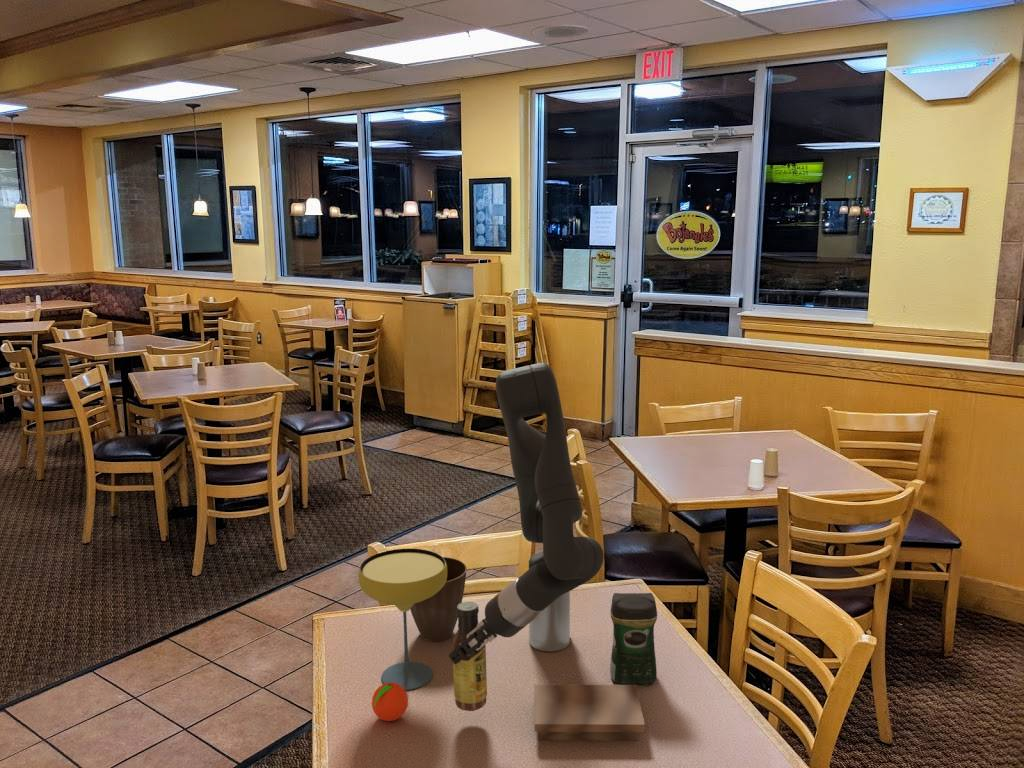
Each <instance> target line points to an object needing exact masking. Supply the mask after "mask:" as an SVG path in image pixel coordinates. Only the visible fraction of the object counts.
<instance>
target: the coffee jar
mask: <svg viewBox="0 0 1024 768" xmlns="http://www.w3.org/2000/svg"><path fill="white" fill-rule="evenodd" d="M657 608H658V607H657V603H656V599H655V596H654V595H653V593H652V592H648V593H646V592H645V593H644V592H640V593H638V592H634V593H633V592H630V593H628V592H625V593H623V592H621V593H619V592H614V593H613V595H612V599H611V605H610V611H609V612H610V618H611V622H612V624H613V625H612V626H613V633H612V646H611V655H610V656H611V657H610V664H609V665H610V667H609V668H610V670H609V673H610V678H611V679H612V681H614V683H615V684H616V685H636V687H637V686H638V687H640V686H641V687H642V686H650V685H653V684H654V683H655V682H656V681H657V677H658V675H657V662H656V661H657V660H656V650H655V637H654V636H655V633H654V631H655V629H654V627H655V624H656V622H657V620H658V611H657V610H658V609H657Z"/></svg>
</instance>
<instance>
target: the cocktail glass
mask: <svg viewBox="0 0 1024 768" xmlns="http://www.w3.org/2000/svg"><path fill="white" fill-rule="evenodd" d="M443 557H444V556H442V555H440V554H438V553H436V552H434V551H431V550H428V549H427V550H426V549H422V548H398V549H391V550H385V551H381V552H379V553H376V554H373V555H370V556H369V557H367V558H366V559H364V561H363V562H361V564H360V566H359V569H358V583H359V587H360V590H362V592H363V593H364V594H365V595H366V596H368V597H370V598H371V599H372V600H374V601H377V602H380V603H383V604H387V605H391V606H392V605H393V606H395V607H396V608H397V609H398V611H400V612H401V613H402V612H403V613H402V615H403V616H402V618H403V639H404V641H403V643H404V644H403V646H404V647H403V648H404V649H403V650H404V658H403V659H404V661H402V662H398V663H395V664H392V665H390V666H389V667H387V668H386V669H384V671H382V674H381V676H380V679H381V682H382V685H383V684H385V683H396V684H399V685H400V686H402V687H403V688H404V689H405V691H412V690H416V689H419V688H422V687H424V686H426V685H427V684H428V683H429V682H431V681H432V678H433V674H434V672H433V670H432V668H431V667H430V666H429V665H427V664H426V663H422V662H418V661H410V659H409V647H408V627H407V626H408V625H407V624H408V623H407V620H408V619H407V612H408V611H411V610H410V608H411V607H412V606H413V604H415V603H418V602H421V601H423V600H426V599H428V598H430V597H432V596H433V595H435V594H436V593H437V592H438V591H439V590H441V588H442V587H443V586H444V585H445V582H446V580H447V564H446V561H445V560H444V558H443Z"/></svg>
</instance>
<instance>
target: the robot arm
mask: <svg viewBox="0 0 1024 768" xmlns="http://www.w3.org/2000/svg"><path fill="white" fill-rule="evenodd" d="M557 383H558V382H557V379H556V377H555V374H554V371H553V370H552V368H551V366H550V365H549V364H547V362H538V363H533V364H530V365H524V366H521V367H516V368H512V369H511V368H510V369H508V370H504V371H503V372H500V373H499V374H498V375H497V377H496V380H495V392H496V397H497V402H498V405H499V409H500V413H501V416H502V420H503V423H504V424H503V425H504V428H505V431H506V435H507V439H508V447H509V454H510V455H509V456H510V462H511V467H512V473H513V477H514V480H515V485H516V489H517V495H518V502H519V513H520V515H519V516H520V524H521V531H522V535H523V538H525V540H526V541H528V542H530V543H534V544H537V543H538V544H542V551H540V552H537V553H535V554H533V555H532V556H530V558H529V560H528V569H527V570H526V571H525V572H524V573H523V574H522V575H520V576H519V577H518V578H517V579H515V580H513V581H512V582H510V583H509V584H507V586H505V587H504V588H503V589H501V590H500V591H499V592H498V593H497V594H495V596H493V597H492V599H490V600H489V601H488V602H487V603H486V605H485V607H484V617H485V618H484V619H482V620H480V621H479V622H478V624H477V627H476V628H475V629H473V630H472V631H471V632H470V633H469V634H468V635H467V636H466V637H467V639H466V640H465V641H464V642H462V643H460V644H459V646H456V648H455V650H454V651H453V650H452V651H451V652H450V653H449V654H448V657H449V659H450V660H451V662H452V664H453V663H454V664H457V663H458V662H460V661H461V660H462V659H466V658H467V656H469V655H470V654H471V653H472V652H473V651H475V650H479V649H481V648H482V647H483V646H484V645H487V644H488V643H491V642H492V641H493V640H495V639H496V638H497V637H498V636H500V637H503V638H512V637H513V636H515V635H516V634H518V633H519V632H520V631H521V630H523V629H524V628H525V627H527V626H528V642H529V645H530V646H531V647H532V648H534V649H535V650H537V651H542V652H558V651H562V650H564V649H566V648H567V647H568V646H569V645H570V639H571V638H570V636H571V631H570V630H571V591H573V590H575V589H577V588H578V587H580V586H582V585H584V584H585V583H587V582H588V581H590V580H591V579H593V578H594V577H595V576H596V575H597V574H598V573H599V571H600V570H601V568H602V566H603V564H604V559H605V554H604V550H603V547H602V546H601V544H600V543H599V542H598V541H597V540H595V538H592V537H588V536H574V523H576V522H578V521H580V519H582V517H583V507H582V503H581V500H580V496H579V491H578V488H577V484H576V482H575V481H576V480H575V477H574V473H573V470H572V464H571V460H570V454H569V453H570V452H569V445H568V437H567V431H566V426H565V421H564V414H563V408H562V402H561V397H560V393H559V388H558V384H557ZM541 414H545V417H546V434H543V433H542V432H541V431H539V430H538V429H537V428H534V426H532V425H530V424H528V422H526V420H524V419H525V418H528V417H533V416H537V415H541ZM478 629H479V630H478ZM475 631H476V633H475V635H476V637H475V635H474V634H473V633H474V632H475ZM479 641H480V642H483V641H484V642H483V643H482V644H481V643H480V642H479Z"/></svg>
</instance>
